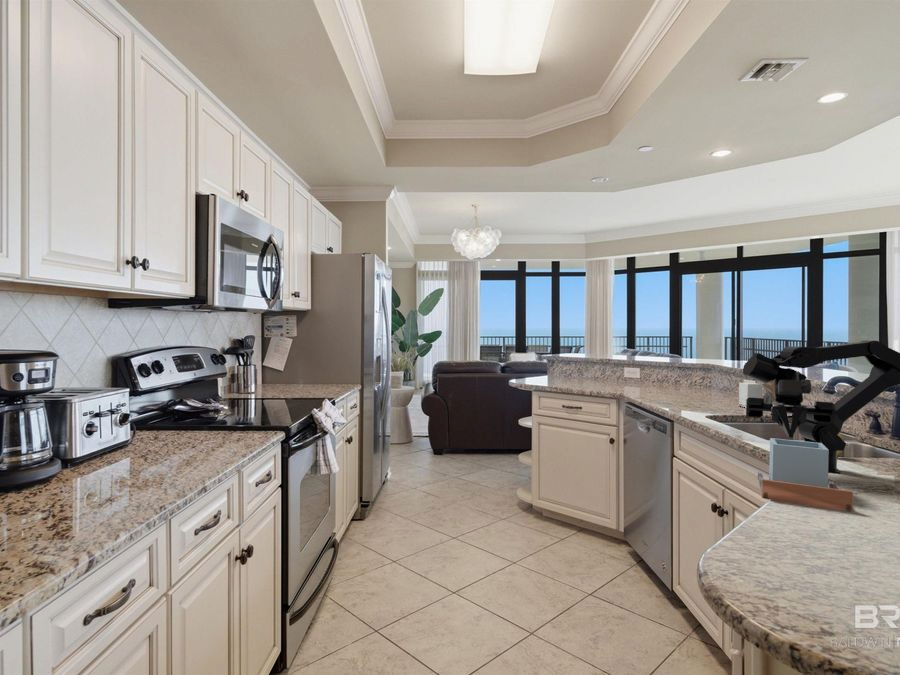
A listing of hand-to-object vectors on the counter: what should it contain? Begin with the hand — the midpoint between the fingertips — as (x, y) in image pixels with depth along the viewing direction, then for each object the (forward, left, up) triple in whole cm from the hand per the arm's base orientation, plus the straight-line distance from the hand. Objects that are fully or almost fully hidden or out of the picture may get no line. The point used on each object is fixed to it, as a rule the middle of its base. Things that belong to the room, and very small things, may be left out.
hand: (790, 436), depth 121 cm
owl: (-125, +9, -11) cm, 126 cm away
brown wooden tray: (+15, 0, -11) cm, 19 cm away
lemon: (-37, +14, -11) cm, 41 cm away
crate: (+11, 0, -10) cm, 15 cm away
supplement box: (-144, -2, -11) cm, 144 cm away
